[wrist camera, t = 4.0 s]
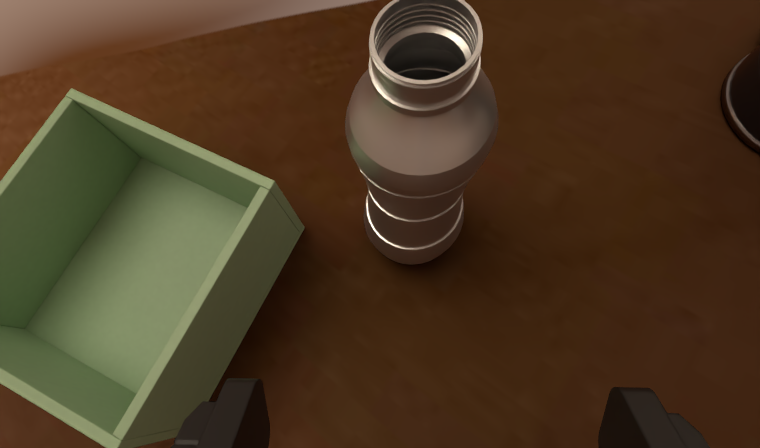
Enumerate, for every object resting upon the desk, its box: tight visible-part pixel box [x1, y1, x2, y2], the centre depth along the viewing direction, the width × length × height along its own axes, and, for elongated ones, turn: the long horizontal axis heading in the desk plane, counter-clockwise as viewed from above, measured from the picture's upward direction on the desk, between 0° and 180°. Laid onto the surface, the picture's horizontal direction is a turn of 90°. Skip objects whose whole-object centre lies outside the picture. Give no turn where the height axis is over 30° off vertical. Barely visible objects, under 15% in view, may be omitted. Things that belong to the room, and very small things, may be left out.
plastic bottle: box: [345, 0, 498, 265], centre depth 25 cm, size 6×7×20 cm
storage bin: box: [0, 89, 305, 448], centre depth 30 cm, size 15×14×9 cm
